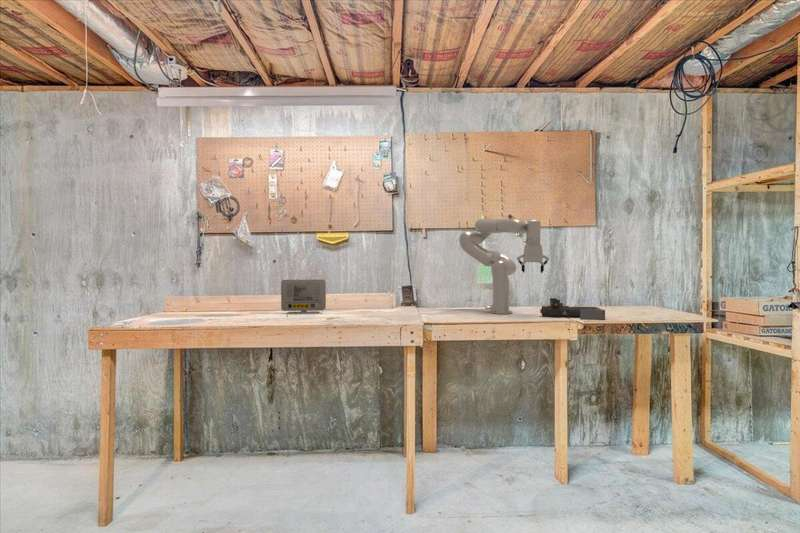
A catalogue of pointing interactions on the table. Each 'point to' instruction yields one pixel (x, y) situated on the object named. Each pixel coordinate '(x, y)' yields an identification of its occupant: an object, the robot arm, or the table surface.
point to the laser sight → (560, 310)
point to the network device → (303, 296)
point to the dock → (592, 313)
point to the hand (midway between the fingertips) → (532, 272)
